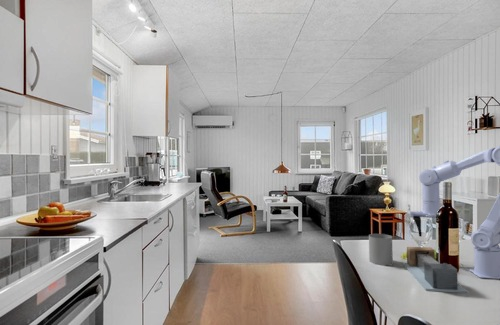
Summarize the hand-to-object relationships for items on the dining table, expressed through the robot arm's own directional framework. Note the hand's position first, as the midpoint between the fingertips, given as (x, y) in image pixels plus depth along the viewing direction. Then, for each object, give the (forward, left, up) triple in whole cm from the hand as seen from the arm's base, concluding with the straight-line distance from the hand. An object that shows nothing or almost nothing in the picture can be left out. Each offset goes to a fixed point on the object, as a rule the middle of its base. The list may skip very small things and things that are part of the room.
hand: (431, 236), depth 121 cm
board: (+6, +17, -10) cm, 20 cm away
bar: (+6, +14, -9) cm, 18 cm away
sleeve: (+6, +25, -10) cm, 27 cm away
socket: (+6, +6, -10) cm, 13 cm away
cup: (+19, +2, -10) cm, 21 cm away
